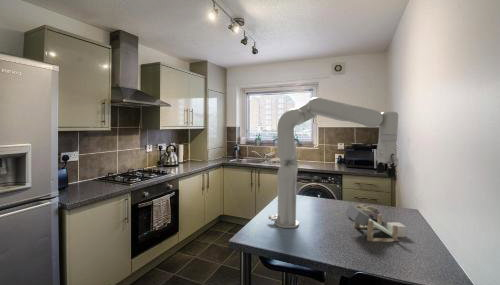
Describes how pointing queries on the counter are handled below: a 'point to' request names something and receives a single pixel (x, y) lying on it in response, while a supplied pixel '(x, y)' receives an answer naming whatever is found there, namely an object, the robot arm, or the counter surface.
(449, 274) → the counter surface
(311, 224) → the counter surface
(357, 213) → the trapdoor
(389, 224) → the cube
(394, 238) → the frame
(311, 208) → the counter surface
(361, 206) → the geode
